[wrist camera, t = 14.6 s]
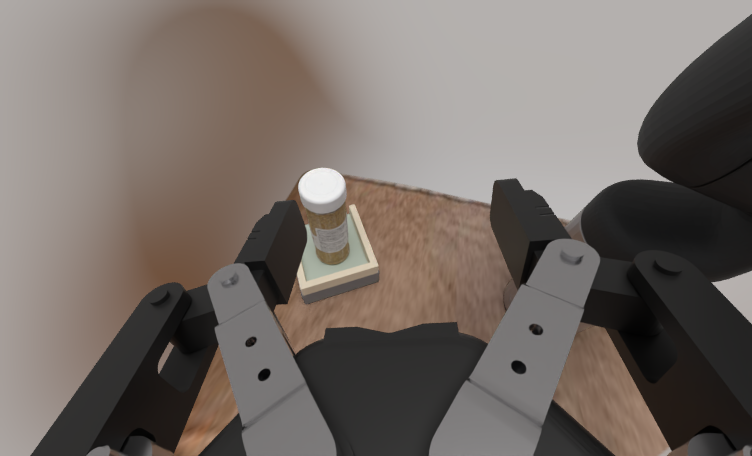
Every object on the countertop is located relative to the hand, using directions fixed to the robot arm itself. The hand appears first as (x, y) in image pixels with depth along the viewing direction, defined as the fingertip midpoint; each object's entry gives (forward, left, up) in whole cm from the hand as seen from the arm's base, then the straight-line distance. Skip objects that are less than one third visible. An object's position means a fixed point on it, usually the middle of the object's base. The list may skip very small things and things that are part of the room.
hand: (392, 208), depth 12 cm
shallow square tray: (+1, -13, -29) cm, 31 cm away
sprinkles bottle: (+1, -13, -26) cm, 29 cm away
